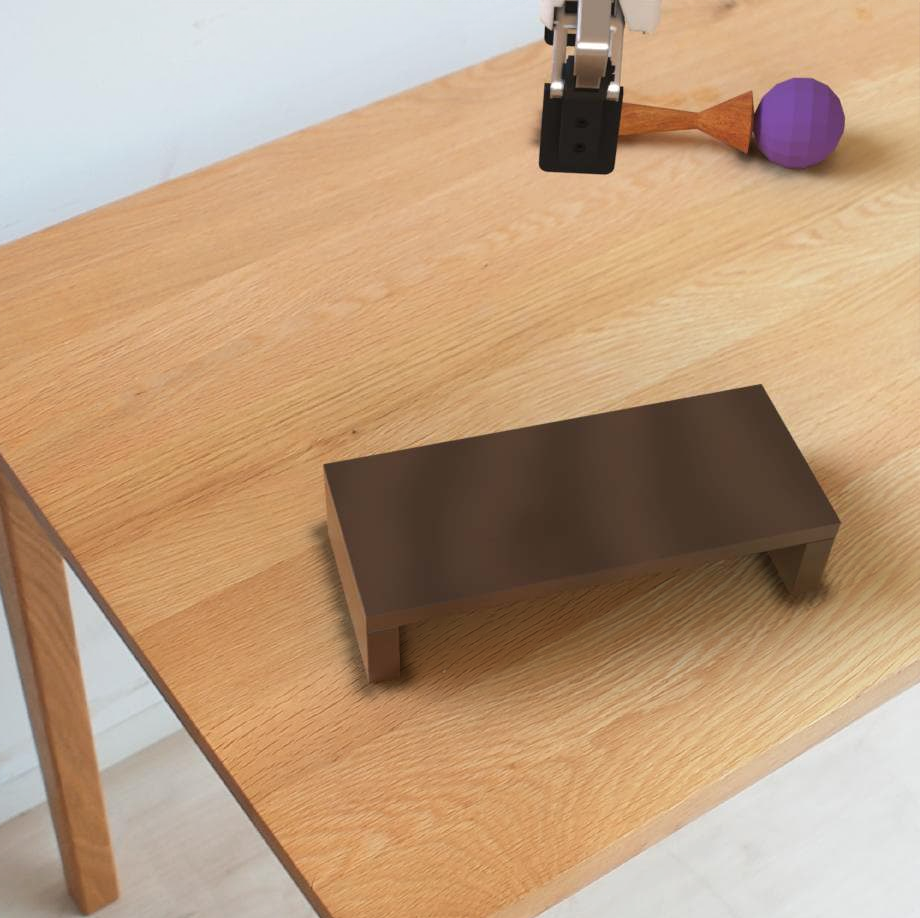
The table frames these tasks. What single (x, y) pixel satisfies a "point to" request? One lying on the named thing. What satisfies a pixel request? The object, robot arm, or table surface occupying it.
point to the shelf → (570, 511)
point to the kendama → (758, 122)
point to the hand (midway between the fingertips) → (576, 103)
